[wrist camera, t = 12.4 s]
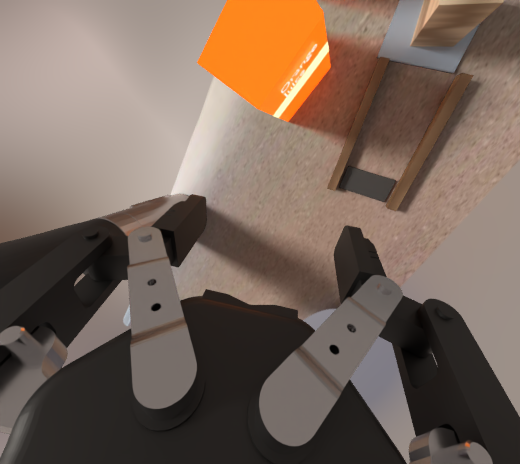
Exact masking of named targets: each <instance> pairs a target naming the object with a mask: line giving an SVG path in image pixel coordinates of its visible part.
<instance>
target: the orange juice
mask: <svg viewBox="0 0 520 464" xmlns="http://www.w3.org/2000/svg"><path fill="white" fill-rule="evenodd" d="M197 63H198V64H199V65H200V66H202V67H203V68H205V69H206V70H207V71H208V72H210V73H211V74H212V75H214V76H215V77H216V78H218V79H219V80H220V81H222V82H223V83H224V84H226V85H227V86H228V87H230V88H231V89H232V90H233V91H235V92H236V93H237V94H239V95H240V96H241V97H243V98H244V99H245V100H247V101H248V102H249V103H251V104H252V105H253V106H255V107H256V108H257V109H259V110H262V111H264V112H266V113H269V114H271V115H273V116H274V117H277V118H280V119H283V120H285V121H287V122H288V121H289V120H290V119H291V118H292V116H293V115H294V114H295V112H296V111H297V110H298V109H299V107H300V106H301V105H302V103H303V102H304V101H305V100H306V98H307V97H308V96H309V94H310V93H311V92H312V91H313V89H314V88H315V87H316V86H317V84H318V83H319V82H320V80H321V79H322V78H323V77H324V75H325V74H326V73H327V71H328V70H329V69H330V68H331V65H330V58H329V47H328V41H327V36H326V29H325V22H324V15H323V10H322V9H321V8H320V6H319V5H318V3H317V1H316V0H227V2H226V4H225V6H224V8H223V10H222V12H221V14H220V16H219V18H218V21H217V23H216V25H215V27H214V29H213V31H212V33H211V35H210V37H209V39H208V41H207V44H206V45H205V47H204V50H203V52H202V54H201V56H200V58H199V60H198V62H197Z"/></svg>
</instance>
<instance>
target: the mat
mask: <svg viewBox="0 0 520 464" xmlns="http://www.w3.org/2000/svg"><path fill="white" fill-rule="evenodd" d="M423 2H424V0H400V1H399V3H398V6H397V8H396V11H395V13H394V16H393V18H392V21H391V23H390V26H389V29H388V31H387V34H386V36H385V39H384V41H383V44H382V46H381V49H380V51H379V54H378V56H377V58H380V57H385V58H390V60H389V61H394V62H399V63H403V64H408V65H413V66H418V67H423V68H428V69H433V70H438V71H443V72H448V73H454V71H455V70H456V68H457V66H458V64H459V62H460V60H461V58H462V57H463V55H464V53H465V51H466V49H467V47H468V45H469V43H470V42H471V40H472V38H473V36H474V34H475V32H476V30H477V28H478V27H479V25H480V24H478V25H477V26H476V27H475V28H474V29H473V30H472V31H470V32H469V33H468V34H467V35H466V36H465V37H464V38H462V39H461V40H460V41H459V42H458V43H457V44H456V45H454V46H453V47H429V46H410V44H411V41H412V38H413V35H414V31H415V28H416V25H417V21H418V18H419V15H420V12H421V8H422V5H423Z"/></svg>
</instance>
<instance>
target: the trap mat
mask: <svg viewBox="0 0 520 464" xmlns="http://www.w3.org/2000/svg"><path fill="white" fill-rule="evenodd" d="M395 181H396V180H393V179H389V178H386V177H383V176H379V175H376V174H373V173H370V172H366V171H363V170H360V169H356V168H353V167H350V166H348V168H347V170H346V173H345V175H344V177H343V180H342V182H341V184H340V187H339V188H342V189H345V190H348V191H352V192H355V193H358V194H361V195H364V196H367V197H370V198H373V199H376V200H379V201H382V202H385V200H386V198H387V196H388V194H389V193H390V191H391V189H392V187H393V185H394V183H395Z"/></svg>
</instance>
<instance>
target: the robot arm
mask: <svg viewBox="0 0 520 464" xmlns="http://www.w3.org/2000/svg"><path fill="white" fill-rule="evenodd" d="M206 221H207V216H206V198H205V197H203V196H198V195H193V194H192V195H190V196H187V195H184V194H175V195H172V196H169V195H166V196H162V197H159V198H155V199H152V200H148V201H145V202H142V203H138V204H135V205H132V206H131V207H130V208H129V209H126V210H122V211H119V212H116V213H112V214H109V215H106V216H102V217H99V218H96V219H92V220H89V221H86V222H82V223H78V224H74V225H70V226H65V227H62V228H58V229H54V230H51V231H47V232H44V233H40V234H36V235H33V236H29V237H25V238H21V239H17V240H13V241H8V242H4V243H1V244H0V432H1V433H7V434H10V436H9V439H8V442H7V444H6V447H5V449H4V451H3V453H2V456H1V458H0V464H407V463H406V462H405V460H404V458H403V457H402V455H401V454H400V452H399V450H398V449H397V447H396V446H395V445H394V443H393V442H392V440H391V439H390V437H389V436H388V434H387V433H386V431H385V430H384V429H383V427H382V426H381V424H380V423H379V421H378V420H377V418H376V417H375V415H374V414H373V413H372V411H371V410H370V408H369V407H368V406H367V404H366V402H365V401H364V399H363V398H362V396H361V395H360V394H359V392H358V391H357V389H356V388H355V386H354V385H353V383H352V382H351V380H350V378H351V376H352V375H353V373H354V372H355V370H356V369H357V367H358V366H359V364H360V363H361V361H362V360H363V358H364V357H365V355H366V354H367V352H368V351H369V349H370V348H371V346H372V345H373V343H374V341H375V340H376V339H377V337H378V336H379V337H381V338H383V339H385V340H387V341H389V342H391V343H392V345H393V349H394V353H395V356H396V360H397V364H398V368H399V372H400V376H401V380H402V384H403V388H404V392H405V395H406V399H407V403H408V407H409V411H410V415H411V419H412V423H413V427H414V430H415V435H416V437H415V438H413V439H412V441H411V443H410V445H409V458H410V463H409V464H520V417H519V415H518V414H517V412H516V410H515V408H514V407H513V405H512V403H511V401H510V400H509V398H508V396H507V395H506V393H505V391H504V389H503V387H502V386H501V384H500V382H499V381H498V379H497V377H496V375H495V374H494V372H493V370H492V368H491V367H490V365H489V363H488V361H487V360H486V358H485V357H484V355H483V353H482V351H481V349H480V348H479V346H478V344H477V342H476V341H475V339H474V337H473V336H472V334H471V332H470V330H469V329H468V327H467V325H466V323H465V322H464V320H463V318H462V317H461V315H460V314H459V313H458V312H457V311H456V310H455V309H454V308H453V307H451V306H450V305H448V304H446V303H445V302H442V301H440V300H437V299H428V300H426V301H425V302H424V303H423V304H420V303H418V302H416V301H414V300H412V299H409V298H407V297H405V296H403V293H402V290H401V288H400V287H399V286H398V285H397V284H396V283H395V282H394V281H392V280H391V279H389V278H387V277H386V274H385V272H384V269H383V267H382V264H381V262H380V259H379V257H378V254H377V251H376V249H375V246H374V245H373V244H372V243H371V242H370V240H369V239H366V238H364V237H363V234H362V231H361V229H360V228H357V227H352V226H345V227H344V229H343V231H342V233H341V236H340V238H339V240H338V242H337V245H336V247H335V251H334V261H335V268H336V275H337V282H338V288H339V295H340V302H341V305H340V306H339V307H338V308H337V309H336V310H335V311H334V312H333V313H332V315H331V316H330V317H329V318H328V319H327V320H326V321H325V322H324V323H323V324H322V325H321V326H320V327H319V328H318V329H317V330H316V331H315V330H314V329H313V328H312V327H311V326H310V325H308V324H307V323H306V322H304V321H302V320H301V319H299V318H298V310H295V309H290V308H286V307H281V306H277V305H249V304H247V303H245V302H243V301H241V300H239V299H237V298H235V297H232V296H230V295H228V294H224V293H220V292H216V291H211V290H207V289H206V290H205V292H204V294H203V296H197V297H191V298H187V299H184V300H181V301H180V300H179V296H178V292H177V288H176V284H175V280H174V277H173V273H172V269H171V266H175V267H179V266H180V265H181V263H182V262H183V260H184V259H185V257H186V256H187V254H188V253H189V251H190V250H191V248H192V247H193V245H194V244H195V242H196V241H197V239H198V238H199V236H200V235H201V233H202V232H203V230H204V229H205V226H206ZM82 273H84V274H85V276H84V277H83V278H82V279H81V280H80V281H79V282H78V283H77V284H76V285H75V286H74V283H75V281H76V280H77V278H78V277H79V276H80V275H81V274H82ZM122 280H128V286H129V301H130V316H131V329H129V330H128V331H126V332H124V333H122V334H120V335H119V336H117V337H115V338H114V339H112V340H110V341H108V342H106V343H105V344H103V345H101V346H100V347H98V348H96V349H94V350H93V351H91V352H89V353H87V354H86V355H84V356H82V357H80V358H79V359H77V360H75V361H73V362H72V363H70V364H68V365H66V366H65V367H63V368H62V366H63V364H64V363H65V361H66V358H67V354H68V353H67V347H68V346H69V344H70V343H71V342H72V341H73V340H74V338H75V337H76V336H77V335H78V333H79V332H80V331H81V330H82V329H83V327H84V326H85V325H86V324H87V322H88V321H89V320H90V319H91V318H92V316H93V315H94V314H95V313H96V311H97V310H98V309H99V308H100V306H101V305H102V304H103V303H104V301H105V300H106V299H107V298H108V297H109V295H110V294H111V293H112V292H113V290H114V289H115V288H116V287H117V286H118V284H119V283H120V282H121V281H122ZM432 353H433V354H434V357H435V359H436V362H437V365H436V362H435V360H434V357H433V355H432ZM437 366H438V367H437Z"/></svg>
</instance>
